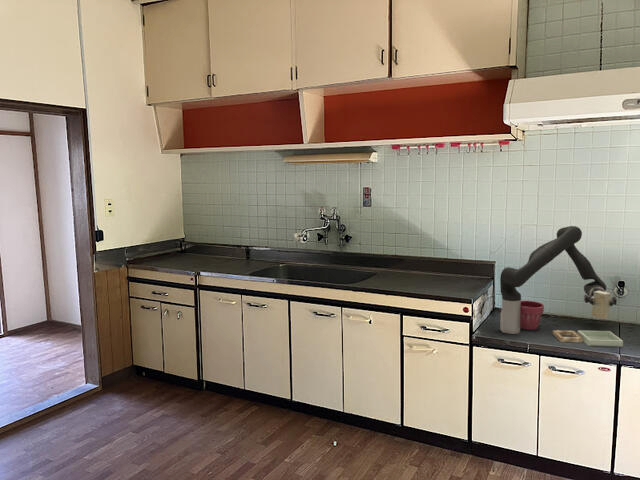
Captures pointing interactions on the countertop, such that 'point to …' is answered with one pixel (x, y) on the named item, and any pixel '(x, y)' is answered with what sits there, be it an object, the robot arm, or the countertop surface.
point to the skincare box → (601, 304)
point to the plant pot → (530, 314)
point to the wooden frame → (567, 339)
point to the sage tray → (600, 338)
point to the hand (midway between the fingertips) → (602, 303)
